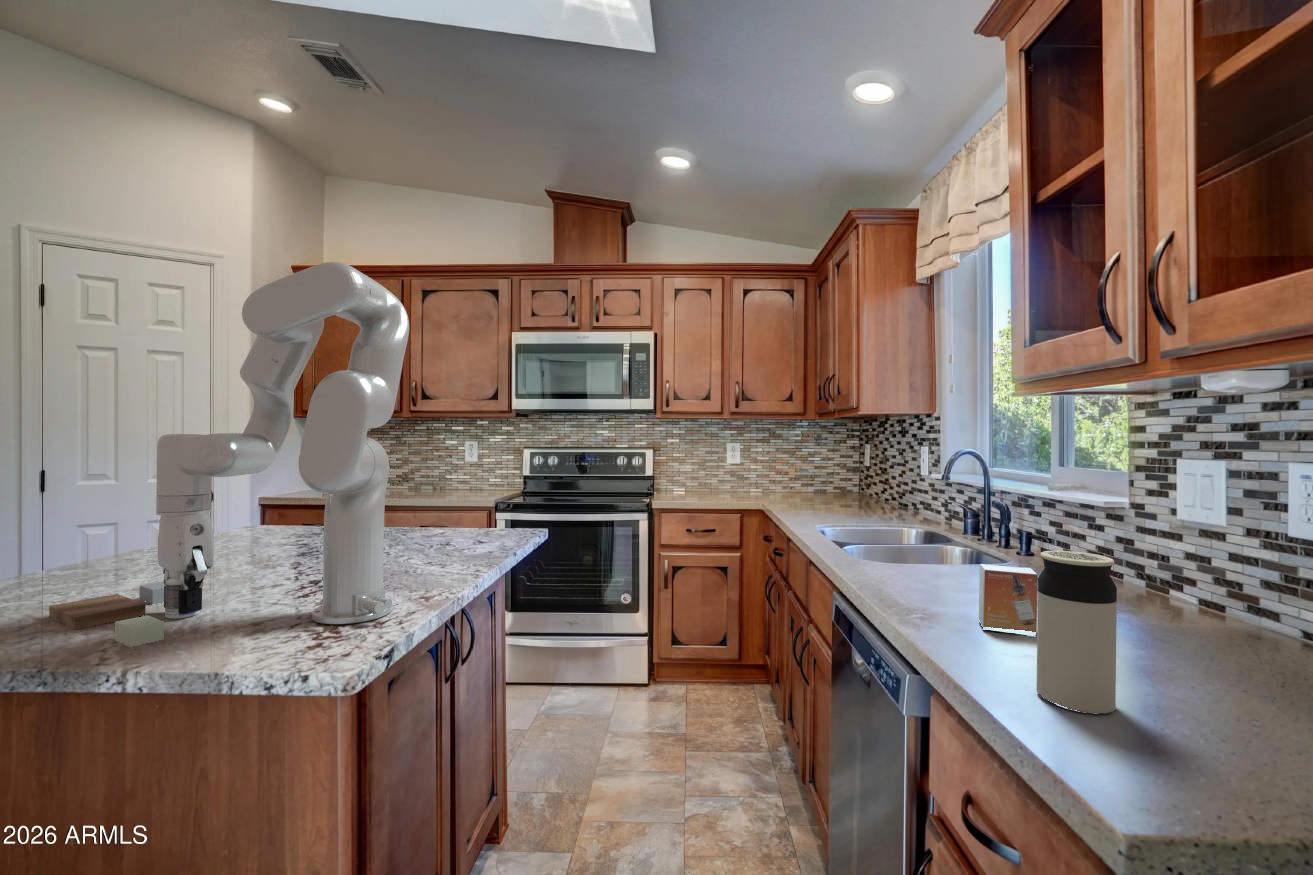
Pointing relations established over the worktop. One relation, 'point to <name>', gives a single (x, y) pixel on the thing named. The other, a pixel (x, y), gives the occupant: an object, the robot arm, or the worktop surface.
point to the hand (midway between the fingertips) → (182, 608)
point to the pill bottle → (175, 596)
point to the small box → (1008, 597)
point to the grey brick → (152, 592)
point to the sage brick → (139, 630)
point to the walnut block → (96, 611)
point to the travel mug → (1077, 631)
